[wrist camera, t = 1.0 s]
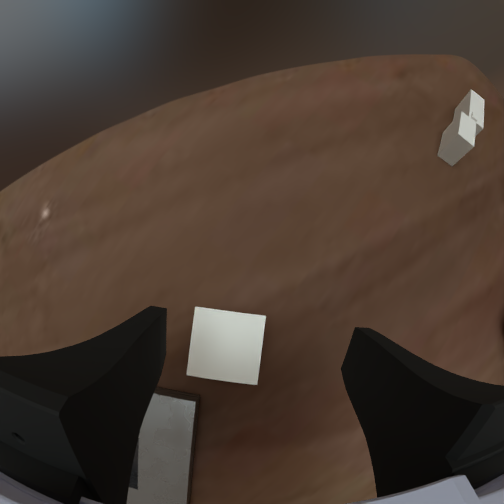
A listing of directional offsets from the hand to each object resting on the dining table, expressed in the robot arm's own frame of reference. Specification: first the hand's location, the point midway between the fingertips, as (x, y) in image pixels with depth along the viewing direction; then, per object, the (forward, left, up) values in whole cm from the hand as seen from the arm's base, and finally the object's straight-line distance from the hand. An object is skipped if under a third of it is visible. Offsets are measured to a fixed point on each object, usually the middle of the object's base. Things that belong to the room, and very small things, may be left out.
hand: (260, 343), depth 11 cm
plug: (-1, +2, -14) cm, 14 cm away
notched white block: (+26, -23, -15) cm, 37 cm away
